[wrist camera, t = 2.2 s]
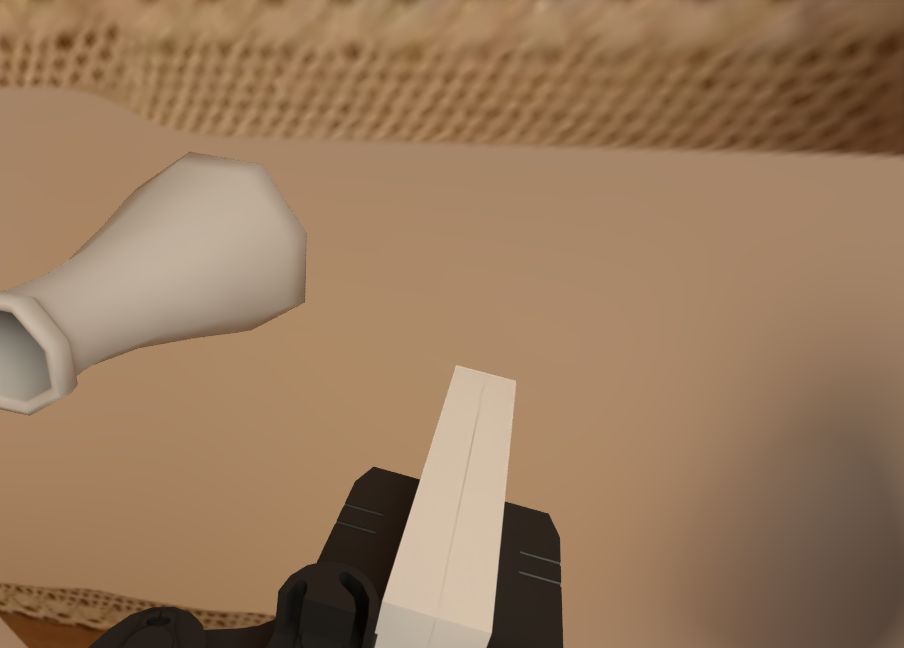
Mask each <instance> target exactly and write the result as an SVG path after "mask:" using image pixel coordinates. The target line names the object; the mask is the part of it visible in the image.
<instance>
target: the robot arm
mask: <svg viewBox="0 0 904 648" xmlns="http://www.w3.org/2000/svg"><path fill="white" fill-rule="evenodd" d="M515 390H516V381H514V380H511V379H507V378H503V377H499V376H496V375H492V374H488V373H484V372H480V371H477V370H473V369H469V368H465V367H462V366H458V365H456V368H455V371H454V374H453V377H452V380H451V384H450V387H449V390H448V393H447V396H446V400H445V403H444V406H443V409H442V413H441V416H440V419H439V422H438V425H437V428H436V431H435V435H434V438H433V441H432V444H431V447H430V451H429V454H428V457H427V460H426V463H425V466H424V470H423V473H422V476H421V479H416V478H413V477H409V476H405V475H402V474H398V473H395V472H391V471H387V470H384V469H380V468H377V467H373V468H371V469H370V470H369V471H368V472H367V473H365V474H364V475H363V476H362V477H360V478H359V479H358V480H356V481H355V483H354V485H353V487H352V489H351V491H350V494H349V496H348V498H347V500H346V502H345V505H344V507H343V508H342V510H341V513H340V515H339V517H338V519H337V522H336V524H335V525H334V527H333V529H332V531H331V534H330V536H329V538H328V540H327V542H326V544H325V546H324V548H323V550H322V553H321V555H320V557H319V559H318V561H317V563H316V564H311V565H307V566H305V567H304V568H302V569H300V570H299V571H297V572H296V573H294V574H292V575H291V576H290V577H289V578H288V579H287V581H286V582H285V583H284V585H283V586H282V587H281V588H280V590H279V592H278V603H277V612H276V619H274V620H272V621H270V622H267V623H264V624H262V625H259V626H254V627H248V628H239V629H216V630H204V629H203V625H202V624H201V623H200V622H199V621H198V620H197V619H196V618H195V617H194V616H193V615H192V613H190V612H187V611H184V610H181V609H179V608H176V607H152V608H149V609H146V610H143V611H141V612H138V613H135V614H132V615H129V616H128V617H127V618H125V619H124V620H122V621H121V622H119V623H118V624H116V625H115V626H113V627H112V628H110V629H109V630H108V631H107V632H106V633H104V634H103V635H102V636H101V637H100V638H99V639H98V640H97V641H95V642H94V643H93V644H92V645H91V646H90V647H89V648H563V626H562V594H561V587H560V584H561V566H560V561H561V560H560V537H559V535H558V532H557V530H556V528H555V526H554V524H553V522H552V520H551V518H550V516H549V514H548V513H544V512H541V511H537V510H533V509H529V508H526V507H522V506H519V505H515V504H512V503H508V502H505V492H506V482H507V472H508V461H509V450H510V441H511V431H512V421H513V410H514V400H515Z"/></svg>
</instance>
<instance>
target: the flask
mask: <svg viewBox="0 0 904 648" xmlns="http://www.w3.org/2000/svg"><path fill="white" fill-rule="evenodd" d="M306 234H307V233H306V231H305V230H304V228H303V227H302V225H301V224H300V222H299V220H298V219H297V217H296V216H295V214H294V213H293V211H292V209H291V208H290V206H289V205H288V203H287V201H286V200H285V198H284V197H283V195H282V194H281V192H280V190H279V189H278V187H277V186H276V184H275V183H274V181H273V180H272V178H271V177H270V175H269V173H268V172H267V170H266V168H265V167H264V165H263V164H257V163H252V162H246V161H240V160H234V159H228V158H222V157H216V156H210V155H205V154H199V153H193V152H189V153H187V154H186V155H184V156H183V157H182V158H180V159H179V160H177V161H176V162H174V163H173V164H172V165H170V166H169V167H167V168H166V169H164V170H163V171H161V172H160V173H158V174H157V175H156V176H154V177H153V178H151V179H150V180H148V181H147V182H145V183H144V184H143V185H141V186H140V187H138V188H137V189H136V190H135V191H134V192H133V193H132V194H131V195H130V196H129V197H128V198H127V199H126V200H125V201H124V202H123V203H122V205H121V206H120V207H119V208H118V209H117V210H116V211H115V213H114V214H113V215H112V216H111V217H110V218H109V219H108V221H107V222H106V223H105V224H104V225H103V226H102V227H101V228H100V229H99V230H98V231H97V232H96V233H95V234H94V235H93V236H92V237H91V238H90V239H89V240H88V241H87V242H86V243H85V244H84V245H83V246H82V247H81V248H80V249H79V250H78V251H77V252H76V253H75V254H74V255H73V256H72V257H71V258H70V259H69V260H68V261H67V262H65V263H63V264H62V265H60V266H59V267H57V268H55V269H54V270H52V271H51V272H49V273H48V274H46V275H44V276H41V277H39V278H36V279H34V280H31V281H29V282H26V283H24V284H21V285H18V286H16V287H13V288H11V289H8V290H4V291H0V409H2V410H6V411H11V412H15V413H20V414H25V415H32V414H33V413H35V412H37V411H39V410H41V409H43V408H44V407H46V406H48V405H50V404H52V403H53V402H55V401H57V400H59V399H61V398H63V397H64V396H66V395H68V394H69V393H71V392H72V391H73V390H74V389H75V388H76V386H77V378H76V376H77V375H79V374H80V373H81V372H82V371H83V370H85V369H87V368H88V367H90V366H91V365H94V364H97V363H99V362H102V361H105V360H108V359H110V358H113V357H116V356H118V355H121V354H124V353H126V352H129V351H132V350H134V349H137V348H141V347H147V346H153V345H158V344H164V343H169V342H175V341H180V340H186V339H191V338H196V337H205V336H213V335H220V334H228V333H237V332H243V331H248V330H252V329H254V328H256V327H258V326H260V325H262V324H264V323H266V322H268V321H270V320H272V319H274V318H276V317H277V316H279V315H281V314H283V313H285V312H287V311H289V310H291V309H293V308H295V307H297V306H299V305H300V304H302V303H304V302H305V279H306Z"/></svg>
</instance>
